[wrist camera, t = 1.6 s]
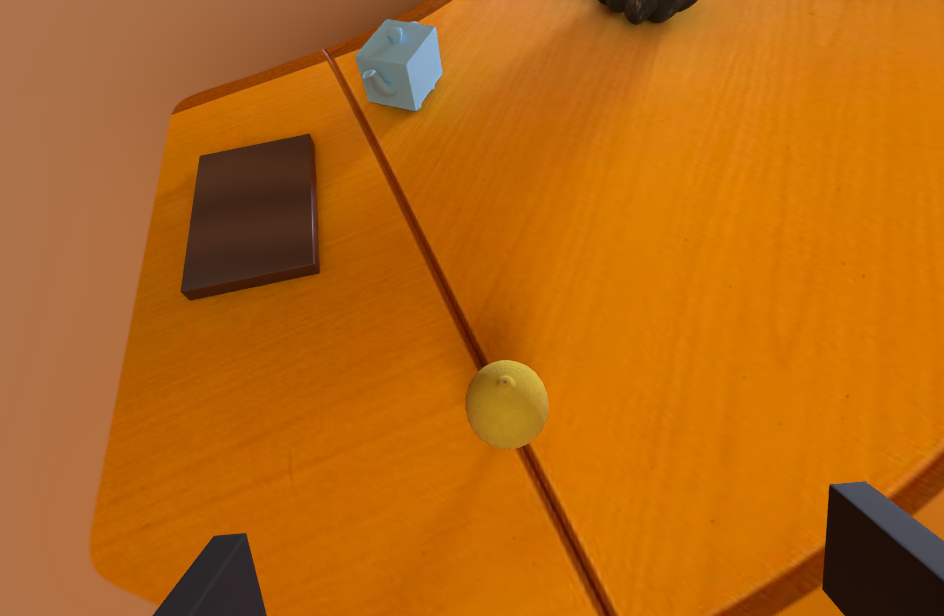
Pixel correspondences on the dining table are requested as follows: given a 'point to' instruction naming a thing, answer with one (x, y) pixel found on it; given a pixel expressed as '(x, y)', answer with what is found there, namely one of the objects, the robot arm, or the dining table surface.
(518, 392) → the lemon
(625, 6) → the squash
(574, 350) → the dining table surface
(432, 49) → the knobbed blue-grey cube
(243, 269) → the cutting board
